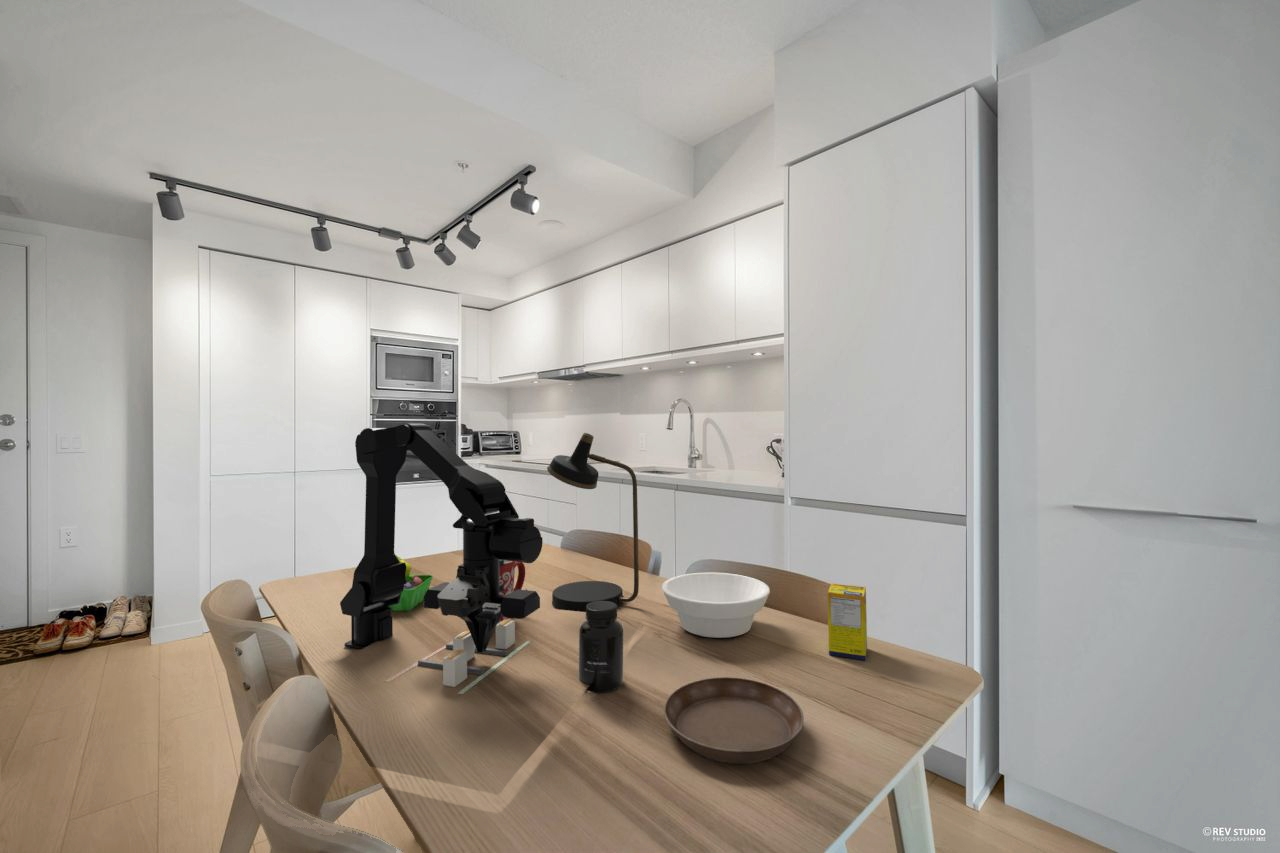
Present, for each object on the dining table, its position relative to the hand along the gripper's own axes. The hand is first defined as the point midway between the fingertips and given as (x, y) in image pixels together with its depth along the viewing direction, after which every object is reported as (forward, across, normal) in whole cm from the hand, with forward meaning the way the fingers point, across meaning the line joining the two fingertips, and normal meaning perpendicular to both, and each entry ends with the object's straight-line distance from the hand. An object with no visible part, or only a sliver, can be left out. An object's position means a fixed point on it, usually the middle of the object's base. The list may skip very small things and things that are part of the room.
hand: (481, 651), depth 87 cm
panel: (+3, -3, 0) cm, 4 cm away
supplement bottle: (+3, +21, +1) cm, 21 cm away
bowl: (+3, +34, +29) cm, 44 cm away
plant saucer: (+3, +42, -6) cm, 42 cm away
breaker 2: (+2, 0, +7) cm, 7 cm away
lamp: (+3, +5, +37) cm, 37 cm away
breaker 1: (+2, 0, -7) cm, 7 cm away
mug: (+3, -8, +19) cm, 21 cm away
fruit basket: (+3, -36, +24) cm, 44 cm away
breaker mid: (+2, -3, 0) cm, 4 cm away
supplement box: (+3, +58, +24) cm, 63 cm away
